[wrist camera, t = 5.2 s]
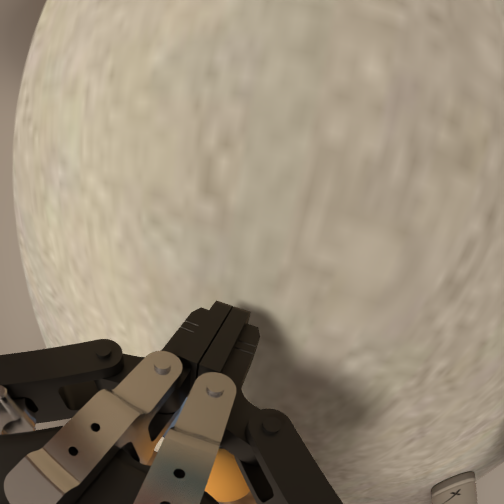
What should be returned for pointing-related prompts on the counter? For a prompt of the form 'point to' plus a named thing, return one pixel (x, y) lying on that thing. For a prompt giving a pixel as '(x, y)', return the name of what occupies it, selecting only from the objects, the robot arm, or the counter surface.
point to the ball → (226, 479)
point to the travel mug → (456, 490)
